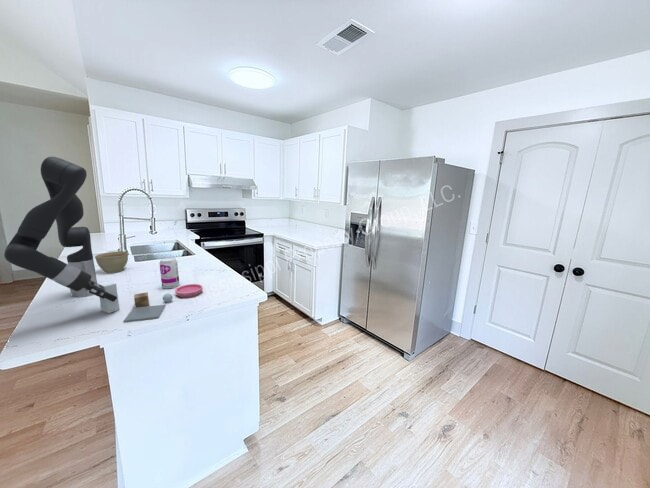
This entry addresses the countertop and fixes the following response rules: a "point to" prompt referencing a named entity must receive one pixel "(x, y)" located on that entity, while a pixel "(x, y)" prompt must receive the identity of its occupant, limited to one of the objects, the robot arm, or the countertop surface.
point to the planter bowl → (112, 261)
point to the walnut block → (141, 300)
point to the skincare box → (105, 303)
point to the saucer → (189, 290)
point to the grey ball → (167, 297)
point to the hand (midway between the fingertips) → (113, 297)
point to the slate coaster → (145, 313)
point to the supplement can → (169, 272)
